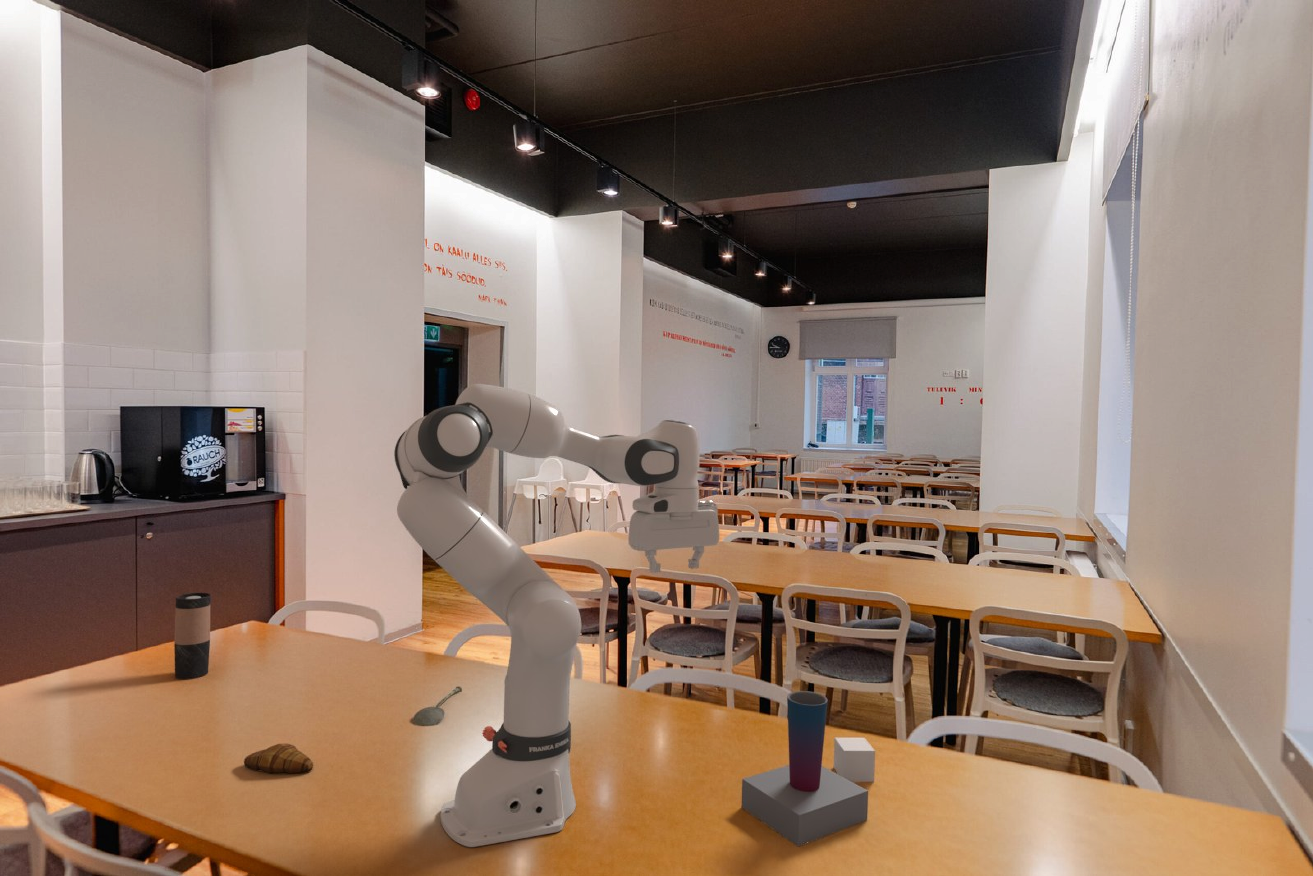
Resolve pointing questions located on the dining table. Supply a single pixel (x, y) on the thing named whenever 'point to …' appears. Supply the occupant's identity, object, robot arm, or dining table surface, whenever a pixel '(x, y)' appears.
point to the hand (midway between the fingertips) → (674, 570)
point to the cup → (806, 738)
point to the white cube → (854, 759)
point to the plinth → (804, 804)
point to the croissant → (279, 760)
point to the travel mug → (192, 635)
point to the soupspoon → (432, 712)
